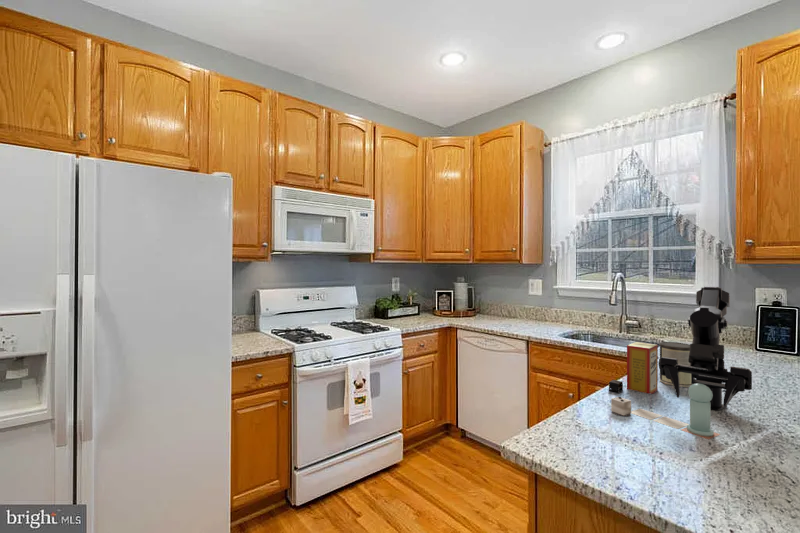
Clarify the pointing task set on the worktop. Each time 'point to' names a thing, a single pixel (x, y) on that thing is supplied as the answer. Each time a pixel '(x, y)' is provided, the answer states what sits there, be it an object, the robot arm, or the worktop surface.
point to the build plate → (615, 386)
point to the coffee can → (682, 356)
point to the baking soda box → (642, 367)
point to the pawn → (700, 410)
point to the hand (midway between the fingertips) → (700, 401)
